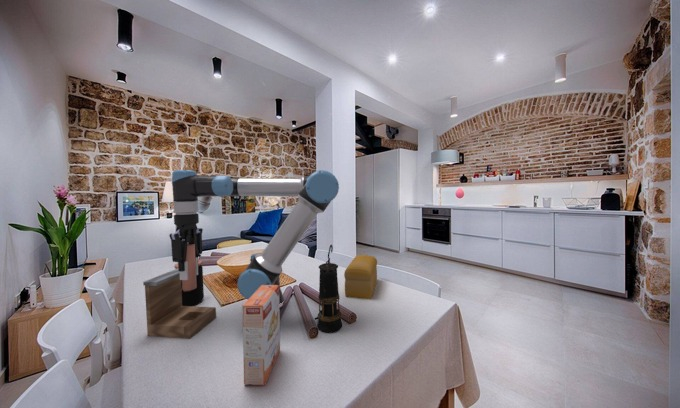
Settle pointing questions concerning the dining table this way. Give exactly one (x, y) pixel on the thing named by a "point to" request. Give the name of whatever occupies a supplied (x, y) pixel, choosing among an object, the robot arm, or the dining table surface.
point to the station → (172, 309)
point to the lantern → (329, 298)
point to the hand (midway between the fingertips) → (189, 277)
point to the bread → (361, 277)
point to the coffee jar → (196, 294)
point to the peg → (190, 269)
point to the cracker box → (261, 334)
